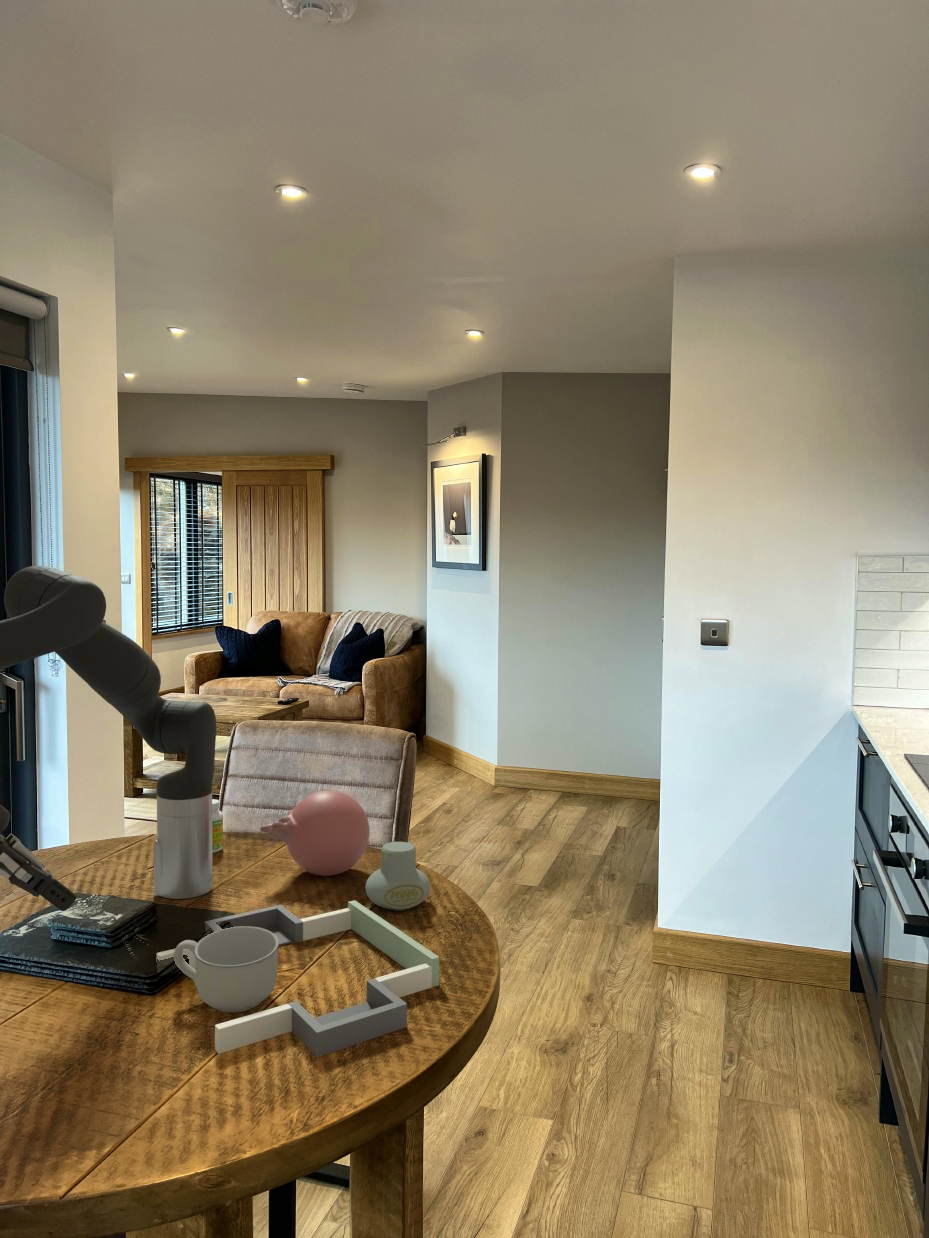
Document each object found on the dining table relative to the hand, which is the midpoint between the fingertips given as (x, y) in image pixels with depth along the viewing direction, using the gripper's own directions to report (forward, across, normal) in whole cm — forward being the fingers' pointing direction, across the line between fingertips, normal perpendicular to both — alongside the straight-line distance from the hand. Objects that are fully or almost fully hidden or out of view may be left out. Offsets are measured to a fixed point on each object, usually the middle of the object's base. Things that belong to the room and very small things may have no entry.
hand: (69, 902), depth 107 cm
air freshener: (+50, +16, -28) cm, 60 cm away
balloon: (+46, +36, -25) cm, 64 cm away
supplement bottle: (+38, +60, -17) cm, 73 cm away
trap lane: (+32, 0, -9) cm, 33 cm away
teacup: (+26, 0, -2) cm, 26 cm away
